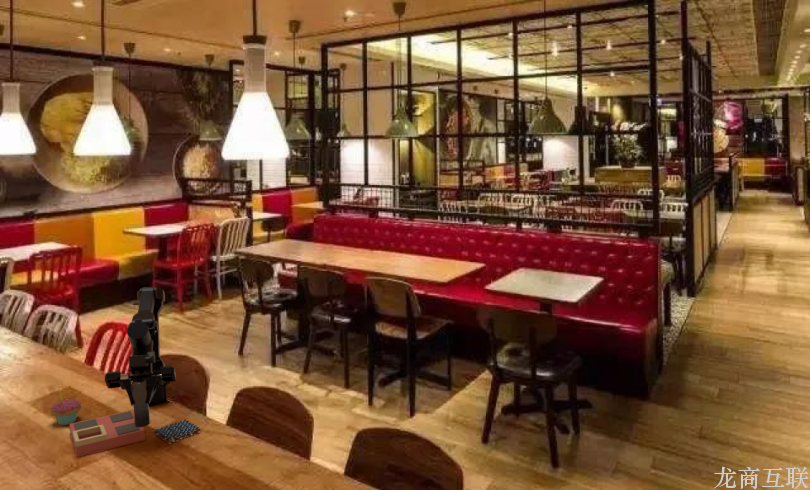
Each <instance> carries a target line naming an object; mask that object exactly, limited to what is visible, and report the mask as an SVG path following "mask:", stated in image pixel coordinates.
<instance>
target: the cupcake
mask: <svg viewBox="0 0 810 490" xmlns="http://www.w3.org/2000/svg"><path fill="white" fill-rule="evenodd" d="M58 395H59V399H60V401H59V400H58V401H57V402H55V403H54V404H53V405H52V407H51V408H50V413H51V414H50V415H51V416H54V417H55V419H56V420H57V422H58V424H59V425H61V426H65V425H66V426H67V425H70V424H72V423H76V420H77V417H78V414H79V411H81V409H82V404H81V402H80V401H79V400H76V399H74V398H65V399H63V394H62V389H60V388H59V387H58Z"/></svg>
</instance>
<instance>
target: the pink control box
mask: <svg viewBox="0 0 810 490" xmlns="http://www.w3.org/2000/svg"><path fill="white" fill-rule="evenodd" d="M69 430H70V431H69V432H70V436H71V439H72V440H71V441H72V443H73V448H74V452H75V455H76V457H77V458H78V457H82V456H86V455H90V454H95V453H98V452H103V451H106V450H110V449H114V448H119V447H122V446H126V445H130V444H134V443H138V442H142V441H146V435H145V434H146V433H145V429H144V427H136V426H135V419H134V409H132V410H126V411H122V412H118V413H113V414H108V415H104V416H100V417H95V418H89V419H86V420H82V421H77V422H76V421H75V422H73V423H71V424H69Z"/></svg>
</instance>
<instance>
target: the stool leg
mask: <svg viewBox="0 0 810 490" xmlns="http://www.w3.org/2000/svg"><path fill="white" fill-rule="evenodd" d="M131 384H132V394H133V406H132V407H133V411H134V419H135V426H136V427H143V428H144V427H147V426H149V425H150V424H151V421H150V420H151V419H150V407H149V404H148V403H147V398H148V390H147V380H146V379H137V380H134V381H131Z"/></svg>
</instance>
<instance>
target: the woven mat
mask: <svg viewBox="0 0 810 490" xmlns="http://www.w3.org/2000/svg"><path fill="white" fill-rule="evenodd" d="M153 433H154V434H155V436H156V437H158V438H160V439H162V441H163V442H166V443H167V444H169V445H171V444H172V443H175V442H179V441H181V440H184V439H186V438H190V437H193V436H196V435H197V434H200V433H201V428H200V426H197V425H196V424H195V423H192V422H190V420H187V419H183V420H180V421H178V422H174V423H171V424H168V425H165V426H161V427H160V428H156V429H155V430H154V432H153Z"/></svg>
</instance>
